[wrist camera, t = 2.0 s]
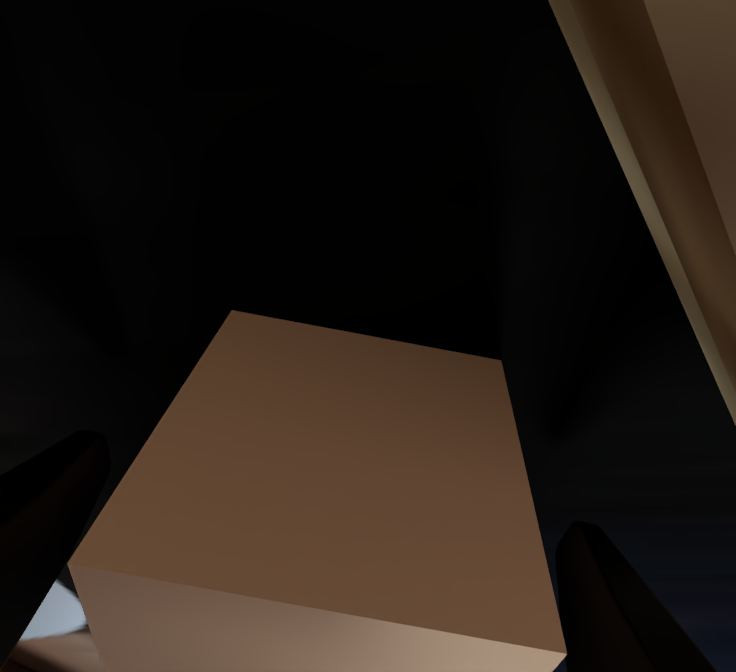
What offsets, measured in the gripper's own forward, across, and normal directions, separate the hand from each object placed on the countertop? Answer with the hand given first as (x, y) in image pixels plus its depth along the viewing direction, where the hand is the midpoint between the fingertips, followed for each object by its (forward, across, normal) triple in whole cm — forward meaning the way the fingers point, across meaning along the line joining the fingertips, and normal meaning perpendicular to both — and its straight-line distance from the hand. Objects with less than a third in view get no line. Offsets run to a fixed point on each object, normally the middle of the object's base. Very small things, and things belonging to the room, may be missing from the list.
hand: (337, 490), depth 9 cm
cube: (+2, 0, 0) cm, 2 cm away
